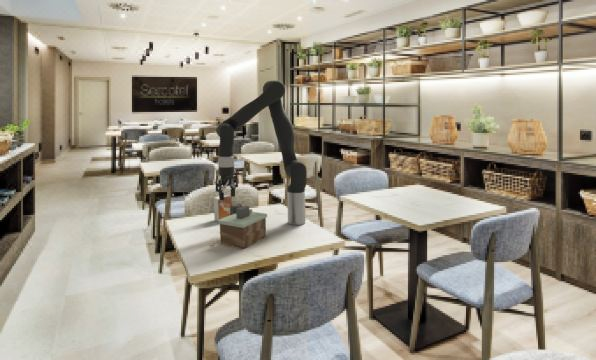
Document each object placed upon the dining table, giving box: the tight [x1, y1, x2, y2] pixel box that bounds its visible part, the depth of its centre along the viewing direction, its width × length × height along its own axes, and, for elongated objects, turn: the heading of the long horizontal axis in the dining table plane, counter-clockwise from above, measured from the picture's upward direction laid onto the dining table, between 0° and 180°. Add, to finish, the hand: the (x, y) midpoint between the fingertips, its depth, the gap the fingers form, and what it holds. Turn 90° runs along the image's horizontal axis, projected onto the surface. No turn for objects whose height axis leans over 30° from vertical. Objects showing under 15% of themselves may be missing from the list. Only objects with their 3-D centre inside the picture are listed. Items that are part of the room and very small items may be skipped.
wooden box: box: [219, 203, 267, 250], centre depth 198 cm, size 18×16×15 cm
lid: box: [217, 205, 268, 228], centre depth 196 cm, size 19×14×7 cm
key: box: [223, 195, 253, 214], centre depth 204 cm, size 3×15×6 cm, turn 61°
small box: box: [213, 194, 230, 223], centre depth 231 cm, size 8×6×13 cm
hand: (227, 198), depth 207 cm, fingers open, 8 cm apart
